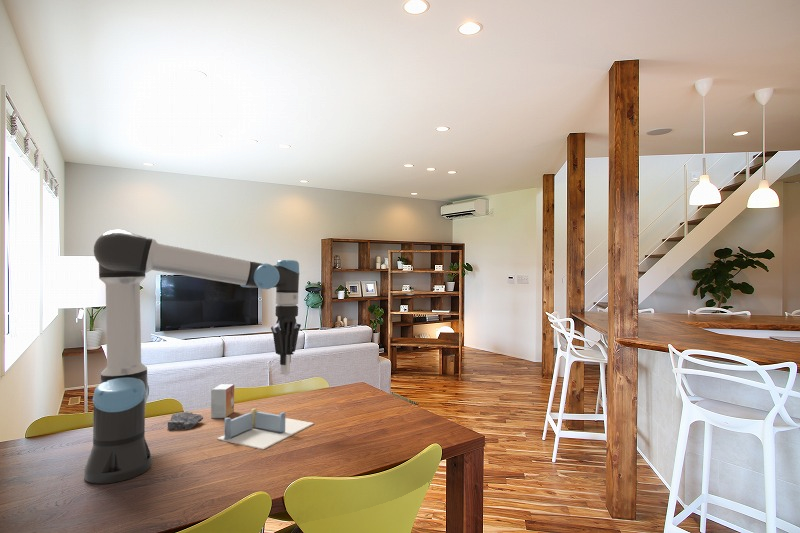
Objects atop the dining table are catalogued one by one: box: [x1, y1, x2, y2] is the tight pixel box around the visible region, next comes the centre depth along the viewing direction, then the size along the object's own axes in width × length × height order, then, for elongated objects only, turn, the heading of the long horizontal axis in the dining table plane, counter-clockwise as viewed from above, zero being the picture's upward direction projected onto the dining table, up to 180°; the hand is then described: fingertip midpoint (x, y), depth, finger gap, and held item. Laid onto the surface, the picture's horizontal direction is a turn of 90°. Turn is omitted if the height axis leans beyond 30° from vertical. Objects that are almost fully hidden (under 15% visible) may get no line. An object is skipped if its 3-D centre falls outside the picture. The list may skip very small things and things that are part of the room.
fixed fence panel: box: [224, 412, 252, 440], centre depth 143 cm, size 11×2×7 cm, turn 155°
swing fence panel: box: [251, 407, 286, 432], centre depth 147 cm, size 14×2×6 cm, turn 66°
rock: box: [167, 411, 204, 431], centre depth 152 cm, size 8×10×4 cm
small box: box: [210, 383, 235, 419], centre depth 164 cm, size 8×6×10 cm
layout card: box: [216, 417, 314, 451], centre depth 147 cm, size 25×19×1 cm
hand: (285, 373), depth 151 cm, fingers closed
